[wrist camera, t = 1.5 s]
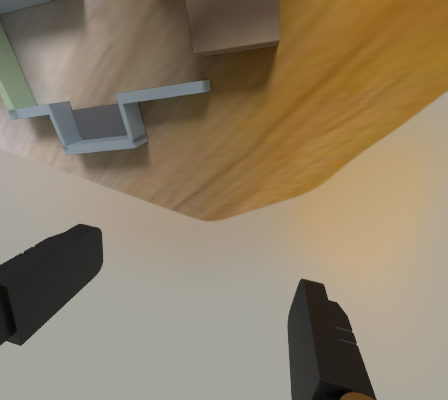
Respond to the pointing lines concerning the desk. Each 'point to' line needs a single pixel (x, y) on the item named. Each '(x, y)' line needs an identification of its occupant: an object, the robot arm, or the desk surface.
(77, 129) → the trap channel
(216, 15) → the walnut block
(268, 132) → the desk surface
